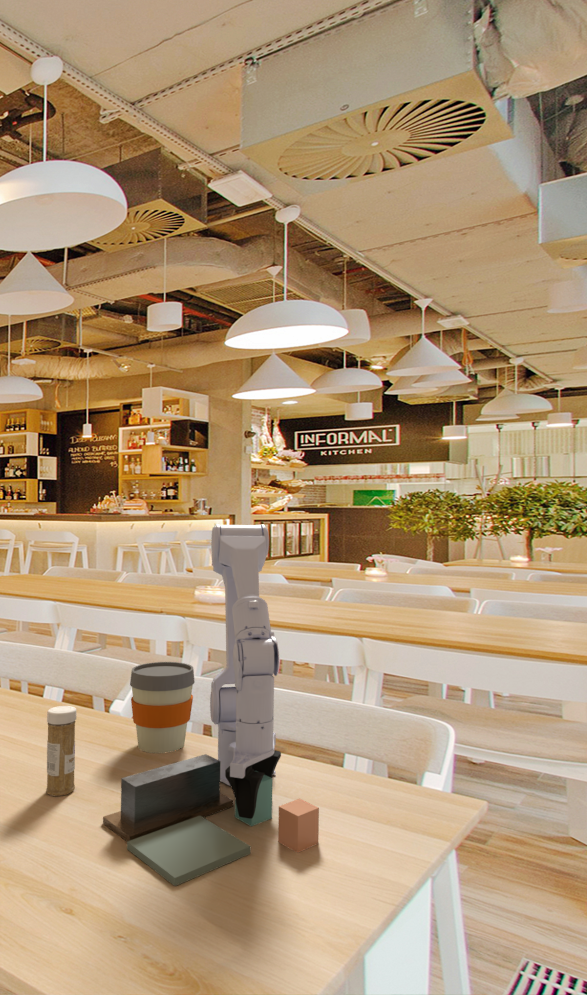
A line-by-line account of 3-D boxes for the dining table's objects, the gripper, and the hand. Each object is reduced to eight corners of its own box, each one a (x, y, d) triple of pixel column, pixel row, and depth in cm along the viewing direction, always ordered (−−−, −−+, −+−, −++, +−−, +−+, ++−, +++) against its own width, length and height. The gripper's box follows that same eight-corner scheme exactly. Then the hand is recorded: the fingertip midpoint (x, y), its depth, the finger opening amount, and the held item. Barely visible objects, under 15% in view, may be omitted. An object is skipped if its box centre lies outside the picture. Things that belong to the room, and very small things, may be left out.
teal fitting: (255, 809, 104) (255, 770, 104) (271, 818, 101) (272, 778, 101) (234, 817, 102) (235, 777, 102) (251, 826, 99) (252, 785, 99)
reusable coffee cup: (197, 753, 128) (199, 674, 128) (130, 759, 124) (131, 678, 124) (189, 732, 140) (190, 660, 140) (127, 737, 136) (128, 663, 136)
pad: (199, 822, 100) (199, 815, 100) (250, 853, 91) (250, 846, 91) (126, 849, 92) (127, 841, 92) (174, 886, 83) (175, 877, 83)
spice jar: (78, 793, 109) (79, 710, 109) (49, 799, 107) (51, 714, 107) (70, 783, 113) (72, 703, 113) (42, 789, 110) (44, 707, 111)
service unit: (203, 790, 111) (204, 747, 111) (233, 806, 105) (233, 761, 105) (103, 823, 99) (103, 775, 99) (129, 843, 93) (130, 793, 93)
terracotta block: (298, 833, 97) (299, 798, 97) (318, 843, 94) (318, 807, 94) (278, 842, 94) (278, 806, 94) (297, 853, 91) (298, 816, 91)
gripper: (247, 702, 110) (246, 785, 110) (211, 729, 96) (209, 825, 96) (288, 706, 108) (287, 791, 107) (257, 735, 94) (255, 833, 94)
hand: (253, 808), depth 101 cm, fingers closed on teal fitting, 5 cm apart
